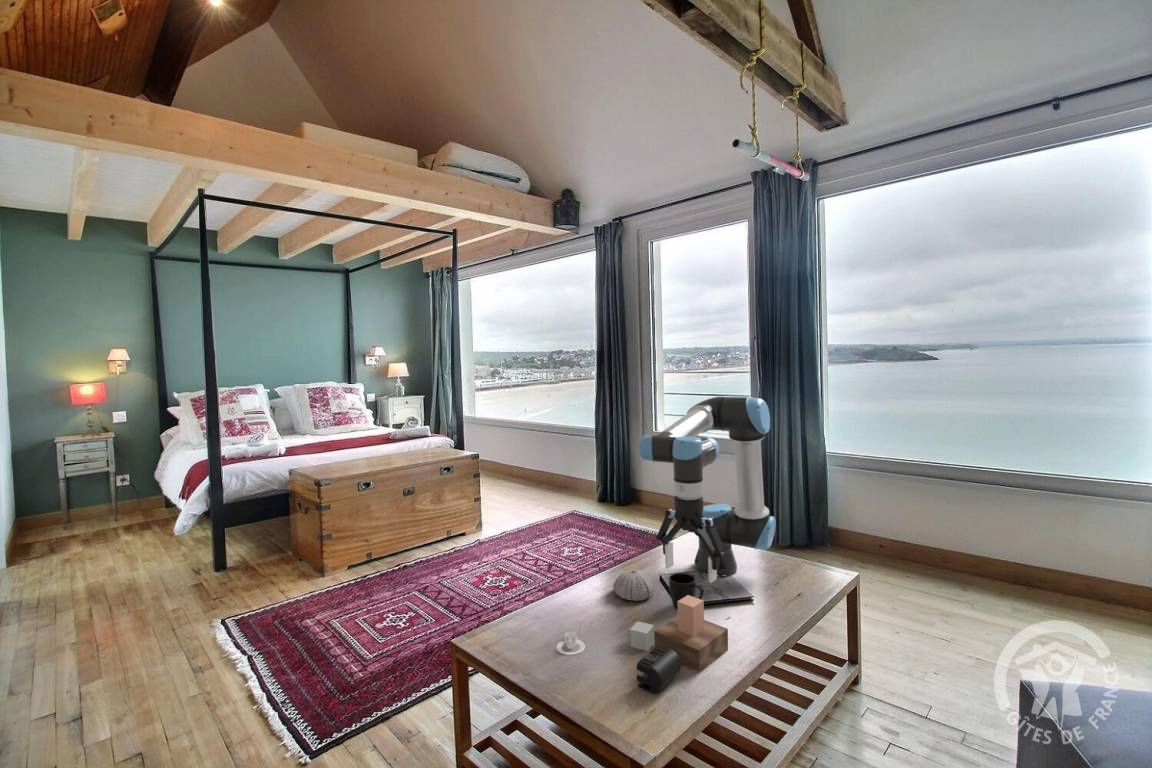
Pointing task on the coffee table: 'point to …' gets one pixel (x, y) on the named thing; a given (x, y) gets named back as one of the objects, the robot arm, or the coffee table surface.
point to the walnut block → (693, 643)
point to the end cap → (658, 670)
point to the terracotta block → (690, 615)
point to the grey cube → (642, 635)
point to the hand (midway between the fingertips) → (690, 573)
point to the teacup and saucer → (570, 644)
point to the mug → (683, 587)
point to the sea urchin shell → (633, 585)
